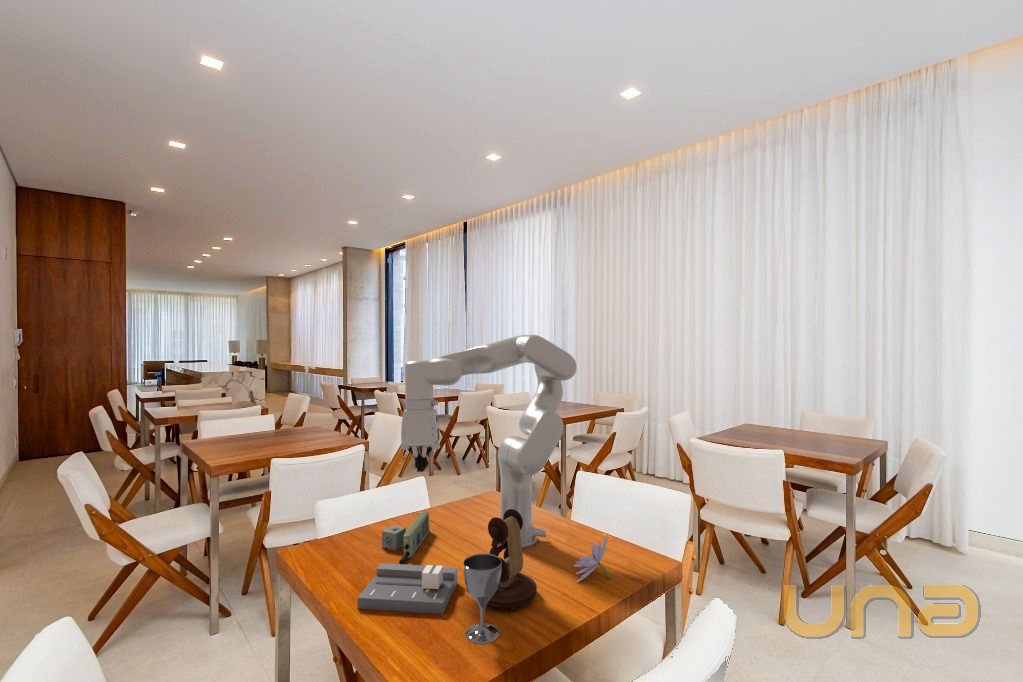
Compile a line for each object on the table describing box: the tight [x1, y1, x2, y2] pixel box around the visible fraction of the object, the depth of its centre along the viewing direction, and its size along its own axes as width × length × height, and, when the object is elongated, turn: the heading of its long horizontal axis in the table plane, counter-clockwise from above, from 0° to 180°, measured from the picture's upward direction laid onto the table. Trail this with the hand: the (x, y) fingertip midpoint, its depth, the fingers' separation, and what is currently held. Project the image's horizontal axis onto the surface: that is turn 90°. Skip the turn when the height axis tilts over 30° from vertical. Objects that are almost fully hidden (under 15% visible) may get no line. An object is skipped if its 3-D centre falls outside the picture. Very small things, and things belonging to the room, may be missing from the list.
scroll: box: [486, 509, 538, 613], centre depth 116 cm, size 15×15×20 cm
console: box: [357, 562, 458, 615], centre depth 117 cm, size 20×14×4 cm
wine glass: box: [462, 552, 501, 645], centre depth 102 cm, size 8×8×15 cm
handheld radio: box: [398, 510, 430, 564], centre depth 144 cm, size 7×3×25 cm
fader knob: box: [422, 564, 444, 589], centre depth 116 cm, size 4×4×4 cm
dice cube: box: [381, 525, 407, 551], centre depth 145 cm, size 5×5×5 cm
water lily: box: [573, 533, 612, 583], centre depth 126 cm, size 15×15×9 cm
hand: (421, 470), depth 136 cm, fingers closed
